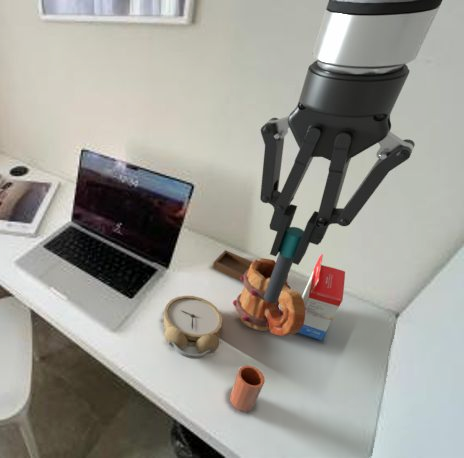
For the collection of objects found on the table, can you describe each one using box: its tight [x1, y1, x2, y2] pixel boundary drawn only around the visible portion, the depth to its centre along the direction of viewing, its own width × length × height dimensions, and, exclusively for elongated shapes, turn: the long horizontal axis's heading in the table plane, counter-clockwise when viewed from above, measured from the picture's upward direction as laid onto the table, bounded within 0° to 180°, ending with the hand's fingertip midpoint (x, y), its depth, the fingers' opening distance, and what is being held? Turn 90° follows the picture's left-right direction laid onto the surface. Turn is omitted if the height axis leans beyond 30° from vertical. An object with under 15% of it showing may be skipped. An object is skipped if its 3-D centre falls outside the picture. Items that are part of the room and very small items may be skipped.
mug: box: [232, 257, 305, 337], centre depth 68 cm, size 15×8×15 cm, turn 6°
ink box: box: [297, 253, 346, 341], centre depth 69 cm, size 8×5×15 cm, turn 147°
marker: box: [264, 226, 304, 303], centre depth 48 cm, size 2×2×13 cm
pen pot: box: [229, 365, 266, 413], centre depth 60 cm, size 4×4×8 cm
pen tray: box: [212, 249, 253, 283], centre depth 84 cm, size 14×6×2 cm, turn 44°
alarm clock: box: [163, 295, 223, 360], centre depth 73 cm, size 11×5×15 cm
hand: (287, 253), depth 47 cm, fingers closed on marker, 2 cm apart
